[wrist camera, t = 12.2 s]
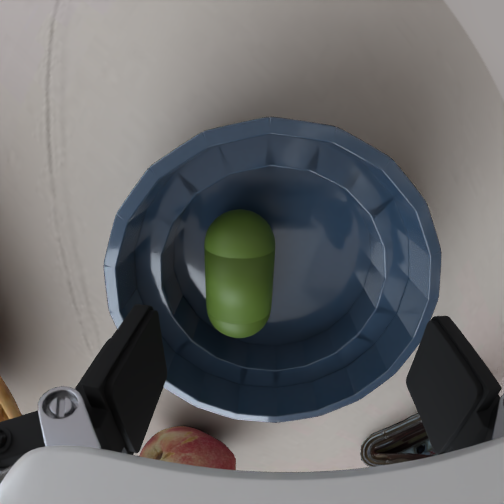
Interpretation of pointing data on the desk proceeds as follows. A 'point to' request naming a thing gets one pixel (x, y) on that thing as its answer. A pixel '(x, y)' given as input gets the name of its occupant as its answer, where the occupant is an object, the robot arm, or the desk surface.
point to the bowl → (281, 267)
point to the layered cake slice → (397, 444)
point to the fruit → (189, 448)
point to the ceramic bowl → (7, 403)
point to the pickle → (239, 272)
